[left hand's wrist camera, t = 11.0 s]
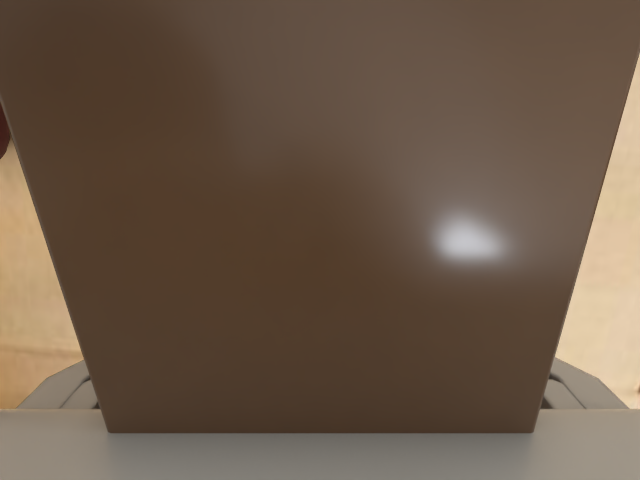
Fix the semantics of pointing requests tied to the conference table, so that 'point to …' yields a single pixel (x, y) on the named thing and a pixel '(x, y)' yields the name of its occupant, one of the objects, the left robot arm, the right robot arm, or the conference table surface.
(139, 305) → the box
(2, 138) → the dark red rounded ball
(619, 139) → the conference table surface
